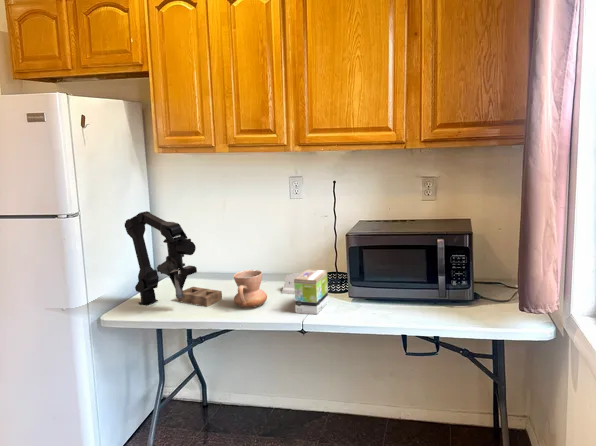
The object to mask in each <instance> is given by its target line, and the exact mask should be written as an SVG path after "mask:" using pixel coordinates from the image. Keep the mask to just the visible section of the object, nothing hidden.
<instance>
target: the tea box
mask: <svg viewBox="0 0 596 446" xmlns="http://www.w3.org/2000/svg"><path fill="white" fill-rule="evenodd" d="M300 273H301V274H300V275H298V276H297V277H296V278H295V279H294V288H295V294H294V304H295V305H294V307H295V308H294V309H295V314H305V315H307V314H309V315H310V314H311V315H318V313H319V312H321V310H323V308H325V307H326V306H327V304H328V303H329V289H328V287H329V284H328V270H327V269H326V270H325V269H324V270H323V269H322V270H321V269H305V270H304V271H302V272H300Z"/></svg>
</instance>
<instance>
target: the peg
mask: <svg viewBox="0 0 596 446" xmlns="http://www.w3.org/2000/svg"><path fill="white" fill-rule="evenodd" d="M176 275H177V274H175V275H174V282H175V287H174V289H175V298H176V299H178V298H183V288H182V289H180V285H179V279H178V277H177V276H176Z"/></svg>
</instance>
